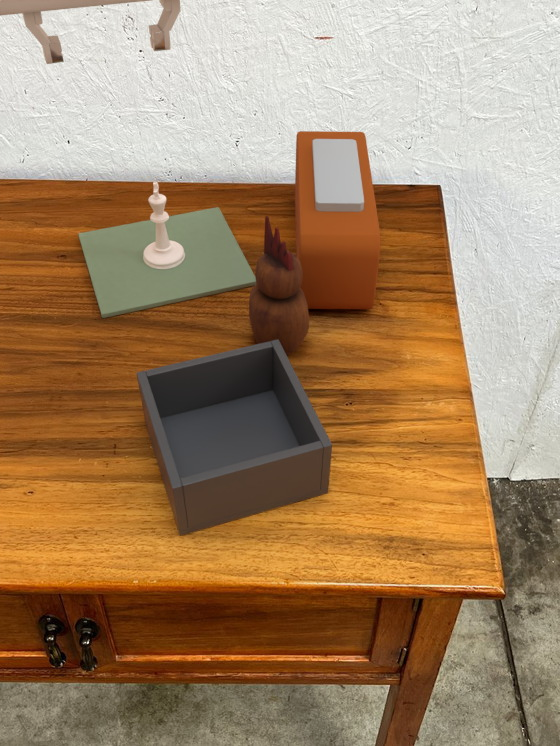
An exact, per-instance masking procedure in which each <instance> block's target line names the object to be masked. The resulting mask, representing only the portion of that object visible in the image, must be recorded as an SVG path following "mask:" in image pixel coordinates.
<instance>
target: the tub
mask: <svg viewBox="0 0 560 746" xmlns="http://www.w3.org/2000/svg"><path fill="white" fill-rule="evenodd" d="M136 378H137V379H136V380H137V384H138V390H139V395H140V401H141V407H142V412H143V417H144V423H145V426H146V430H147V433H148V436H149V439H150V442H151V446H152V449H153V452H154V453H153V454H154V456H155V459H156V462H157V467H158V470H159V473H160V476H161V479H162V482H163V486H164V488H165V492H166V496H167V498H168V499H167V500H168V502H169V505H170V508H171V512H172V516H173V518H174V522H175V526H176V528H177V531H178V535H179V536H180V537H182V536H184V535H188V534H191V533H195V532H198V531H201V530H205V529H209V528H213V527H215V526H220V525H223V524H226V523H229V522H233V521H237V520H239V519H243V518H247V517H251V516H253V515H257V514H260V513H264V512H268V511H272V510H274V509H278V508H281V507H285V506H288V505H292V504H295V503H299V502H302V501H306V500H309V499H312V498H316V497H319V496H322V495H326V494H329V486H330V474H331V464H332V463H331V462H332V452H333V443H332V442H331V440H330V438H329V436H328V434H327V432H326V429H325V428H324V426H323V424H322V422H321V420H320V418H319V415H318V414H317V412H316V409H315V408H314V406H313V404H312V402H311V400H310V399H309V396H308V394H307V393H306V390H305V389H304V387H303V385H302V383H301V381H300V379H299V377H298V375H297V373H296V371H295V369H294V367H293V365H292V363H291V361H290V359H289V357H288V354H287V355H286V353H285V351H284V349H283V347H282V345H281V344H280V342H279V340H278V339H277V340H273V341H271V342H270V341H269V342H265V343H260V344H257V343H256V344H253V345H249V346H248V345H247V346H243V347H239V348H236V349H231V350H227V351H223V352H218V353H214V354H209V355H205V356H201V357H197V358H192V359H188V360H184V361H180V362H175V363H172V364H167V365H162V366H159V367H155V368H149V369H146V370H142V371H136Z"/></svg>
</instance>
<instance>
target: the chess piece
mask: <svg viewBox="0 0 560 746" xmlns="http://www.w3.org/2000/svg"><path fill="white" fill-rule="evenodd" d="M152 186H153V191H152V193H153V194H151V195H150V196H149V197H148V200H147V201H148V204H149V205H150V207H151V209H152V211H153V212H152V213H150V216H149V220H151V221H152V222H155V223H156V242H153V243H151V244H150V245H148V246H147V247H146V248H145V250H144V253H143V255H144V256H143V259H144V262H145V263H146V264H147V265H148V266H150V267H152V268H155V269H170V268H173V267H176V266H178V265H179V264H181V263H182V262H183V260H184V259H185V252H184V249H183V247H182V246H181V245H180V244H179V243H177V242H175V241H171V240H169V238H168V234H167V231H166V227H165V222H166V221H167V220H168V219H169V216H170V215H169V213H168V212H167V211H165V207H166V204H167V197H166V195H164V194H163V193H160V191H159V189H160V184H159V183H158V181H153V183H152Z"/></svg>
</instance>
